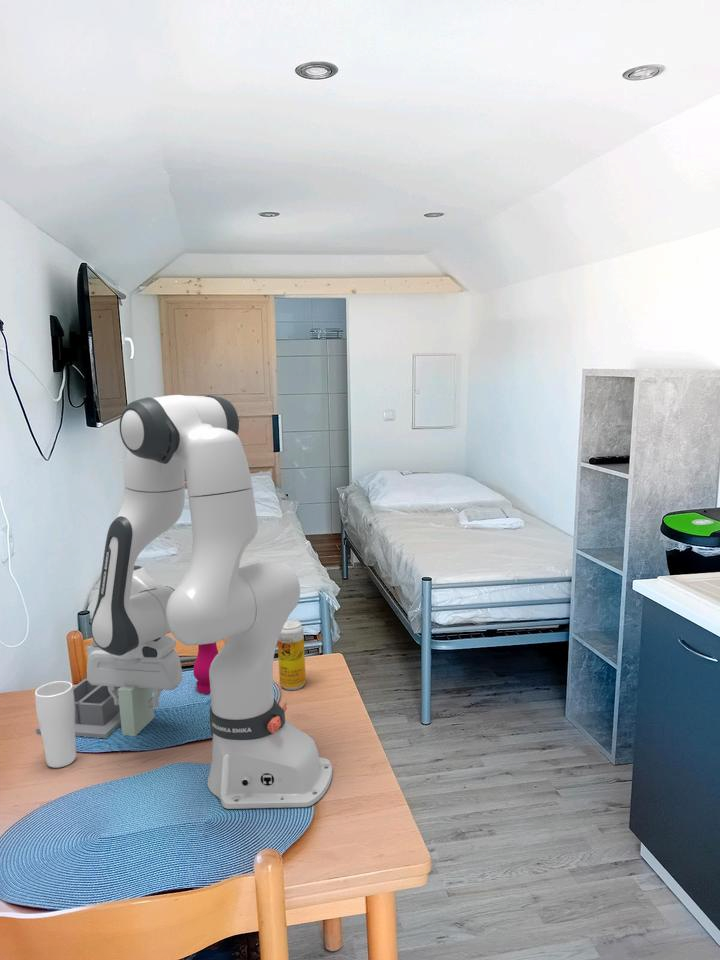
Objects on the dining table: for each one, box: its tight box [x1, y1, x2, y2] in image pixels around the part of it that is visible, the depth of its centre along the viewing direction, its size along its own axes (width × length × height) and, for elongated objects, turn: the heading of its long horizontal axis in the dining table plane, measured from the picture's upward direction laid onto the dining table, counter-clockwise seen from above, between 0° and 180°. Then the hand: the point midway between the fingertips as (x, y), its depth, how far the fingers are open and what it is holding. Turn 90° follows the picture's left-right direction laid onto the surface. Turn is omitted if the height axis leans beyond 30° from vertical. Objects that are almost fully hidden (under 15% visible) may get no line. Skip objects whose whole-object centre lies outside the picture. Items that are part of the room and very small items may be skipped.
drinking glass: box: [34, 680, 77, 769], centre depth 135 cm, size 7×7×15 cm
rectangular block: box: [118, 685, 155, 737], centre depth 148 cm, size 3×8×10 cm, turn 168°
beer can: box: [277, 619, 307, 691], centre depth 165 cm, size 6×6×15 cm
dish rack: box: [35, 678, 121, 739], centre depth 154 cm, size 16×18×6 cm
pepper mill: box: [192, 642, 219, 695], centre depth 164 cm, size 7×7×20 cm
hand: (136, 705), depth 148 cm, fingers open, 6 cm apart
